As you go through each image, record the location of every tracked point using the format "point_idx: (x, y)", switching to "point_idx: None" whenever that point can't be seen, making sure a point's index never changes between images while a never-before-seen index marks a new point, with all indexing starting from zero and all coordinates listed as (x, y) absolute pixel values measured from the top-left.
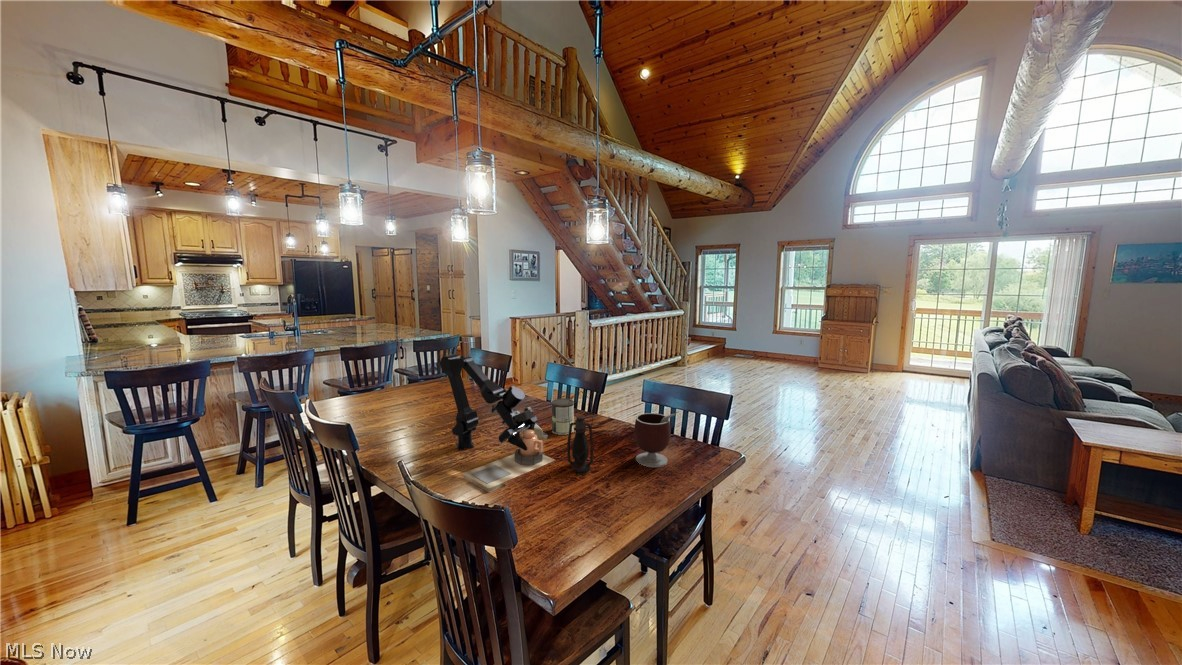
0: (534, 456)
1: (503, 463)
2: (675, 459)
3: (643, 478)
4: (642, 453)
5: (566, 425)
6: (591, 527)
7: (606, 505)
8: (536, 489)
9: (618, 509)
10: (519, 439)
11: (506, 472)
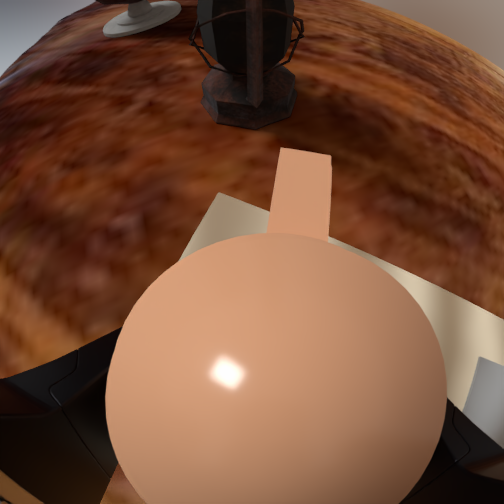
0: None
1: None
2: None
3: None
4: (108, 32)
5: None
6: (474, 70)
7: (405, 43)
8: (475, 199)
9: (400, 32)
10: (478, 436)
11: (479, 388)
